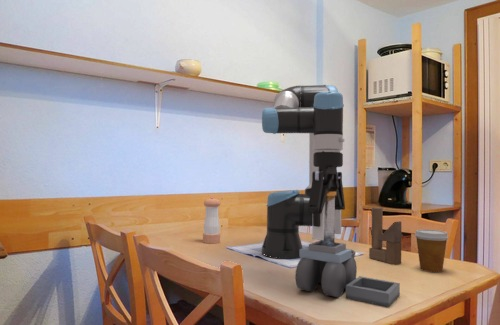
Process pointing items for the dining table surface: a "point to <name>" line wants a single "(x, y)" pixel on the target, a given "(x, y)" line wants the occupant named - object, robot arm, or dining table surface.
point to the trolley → (325, 268)
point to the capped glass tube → (329, 220)
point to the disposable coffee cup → (431, 249)
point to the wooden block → (385, 239)
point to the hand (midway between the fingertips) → (327, 236)
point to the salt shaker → (211, 221)
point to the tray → (373, 291)
